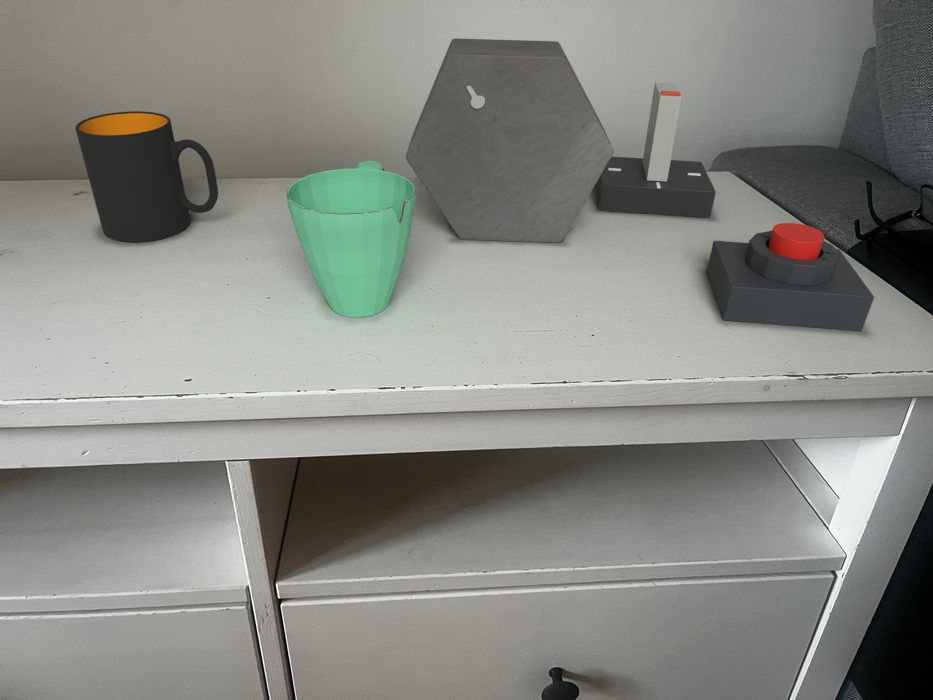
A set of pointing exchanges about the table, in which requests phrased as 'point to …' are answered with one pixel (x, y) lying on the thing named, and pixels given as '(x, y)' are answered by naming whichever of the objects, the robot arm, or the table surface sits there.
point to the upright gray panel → (661, 131)
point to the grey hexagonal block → (509, 141)
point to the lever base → (655, 189)
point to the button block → (787, 286)
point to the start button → (796, 241)
